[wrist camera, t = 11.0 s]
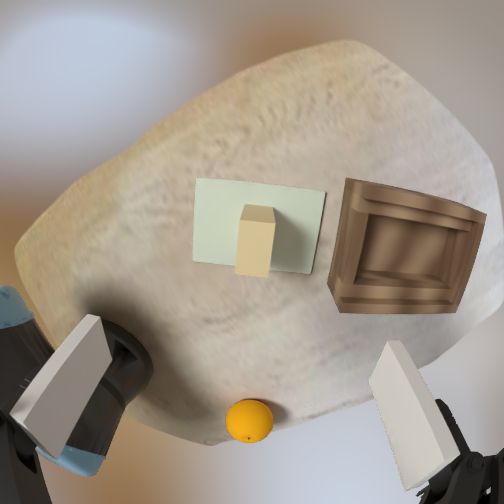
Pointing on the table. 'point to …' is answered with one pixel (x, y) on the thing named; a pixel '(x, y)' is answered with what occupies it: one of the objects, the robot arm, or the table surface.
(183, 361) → the table surface
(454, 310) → the case
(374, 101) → the table surface
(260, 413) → the orange
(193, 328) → the table surface
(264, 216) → the lid
